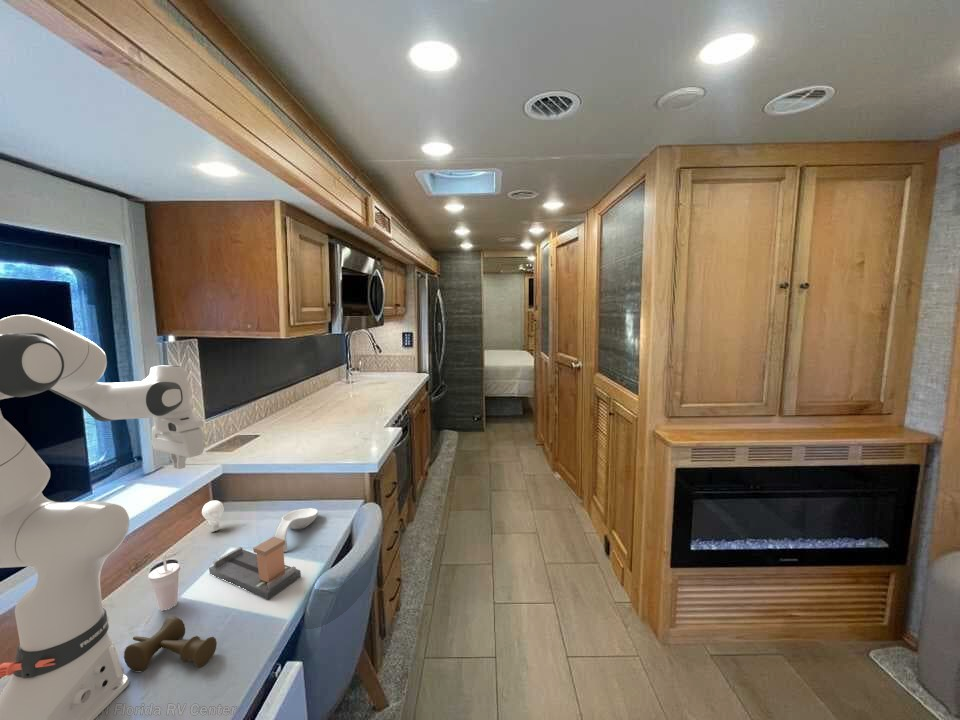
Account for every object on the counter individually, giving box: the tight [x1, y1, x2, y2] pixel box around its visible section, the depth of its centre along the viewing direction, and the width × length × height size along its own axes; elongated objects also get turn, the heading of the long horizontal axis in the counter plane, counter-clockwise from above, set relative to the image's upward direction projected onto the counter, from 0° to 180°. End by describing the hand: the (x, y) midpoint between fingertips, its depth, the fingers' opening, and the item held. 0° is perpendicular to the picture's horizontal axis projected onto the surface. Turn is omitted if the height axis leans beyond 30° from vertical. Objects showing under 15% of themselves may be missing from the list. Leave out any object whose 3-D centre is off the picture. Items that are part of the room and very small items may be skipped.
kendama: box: [123, 615, 218, 672], centre depth 85 cm, size 6×10×20 cm
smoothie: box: [148, 553, 181, 611], centre depth 101 cm, size 6×6×14 cm
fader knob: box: [253, 536, 286, 583], centre depth 108 cm, size 5×6×9 cm
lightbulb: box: [201, 499, 225, 533], centre depth 137 cm, size 6×6×11 cm
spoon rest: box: [274, 507, 319, 553], centre depth 134 cm, size 24×12×7 cm, turn 5°
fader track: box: [208, 546, 302, 601], centre depth 112 cm, size 26×10×4 cm, turn 64°
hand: (179, 467), depth 113 cm, fingers closed
